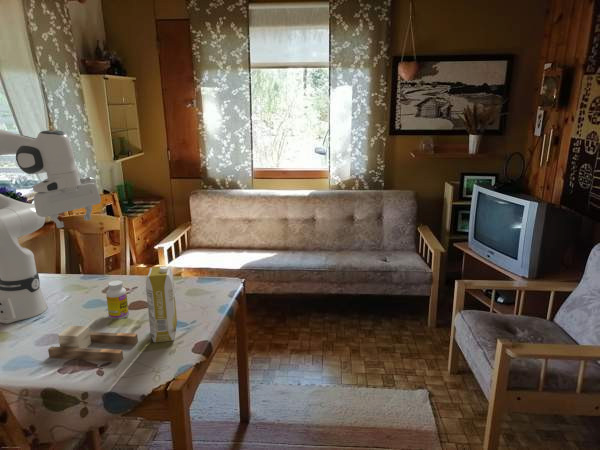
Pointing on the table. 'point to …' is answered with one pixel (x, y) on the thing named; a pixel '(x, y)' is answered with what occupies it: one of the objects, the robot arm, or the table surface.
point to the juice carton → (161, 304)
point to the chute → (96, 353)
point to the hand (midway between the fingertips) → (74, 223)
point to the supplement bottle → (117, 300)
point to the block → (75, 337)
